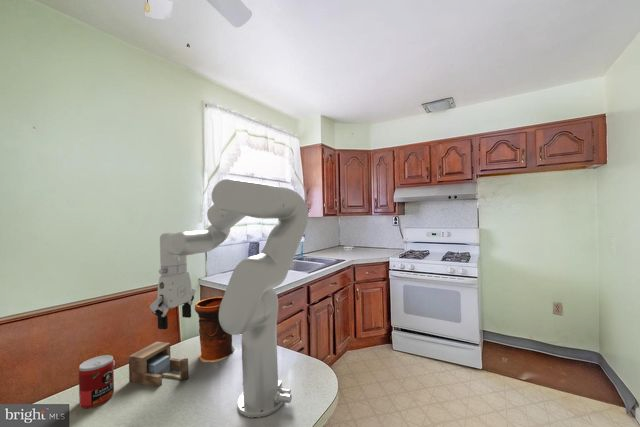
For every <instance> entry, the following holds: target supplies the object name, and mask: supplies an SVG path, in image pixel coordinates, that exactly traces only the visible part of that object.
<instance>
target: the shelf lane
mask: <svg viewBox="0 0 640 427" xmlns="http://www.w3.org/2000/svg"><path fill="white" fill-rule="evenodd" d="M156 354H158V355H166V356H170V370H176V371H177V370H178V371H180V360H182V359H183V358H174V357H171V343H170V342H162V341H155V342H153V343H150V344H149V345H148V346H146V347H144V348H142V349H140V350H137V351H136V352H134V353H132V354H131V355H129V356H128V376H129V377H128V379H129V383H134V384H139V385H144V386H145V385H146V386H149V387H151V386H152V387H156V388H159V387H161V386H162V384H163V380H162V379H163V378H162V375H159V374H152V373H147V359H149V358H151V357H153V356H154V355H156Z"/></svg>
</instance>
